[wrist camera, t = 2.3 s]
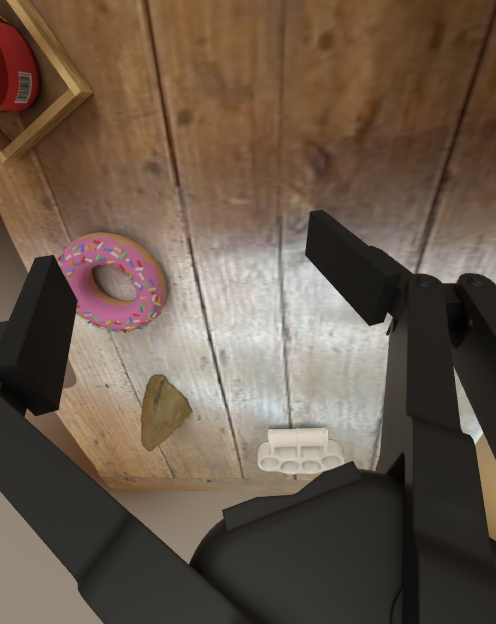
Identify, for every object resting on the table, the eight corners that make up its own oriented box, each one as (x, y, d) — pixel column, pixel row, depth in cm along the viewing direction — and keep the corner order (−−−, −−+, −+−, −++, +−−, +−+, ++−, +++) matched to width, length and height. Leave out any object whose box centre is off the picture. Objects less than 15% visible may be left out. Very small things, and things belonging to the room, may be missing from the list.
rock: (130, 377, 51) (130, 418, 55) (147, 412, 45) (145, 455, 50) (188, 363, 57) (183, 401, 62) (209, 392, 51) (202, 431, 56)
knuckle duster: (342, 421, 58) (340, 462, 66) (252, 425, 60) (261, 463, 68) (346, 437, 55) (343, 477, 63) (251, 440, 58) (260, 478, 66)
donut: (108, 204, 37) (87, 216, 33) (191, 283, 42) (182, 301, 38) (51, 269, 42) (28, 286, 38) (131, 331, 48) (118, 352, 44)
